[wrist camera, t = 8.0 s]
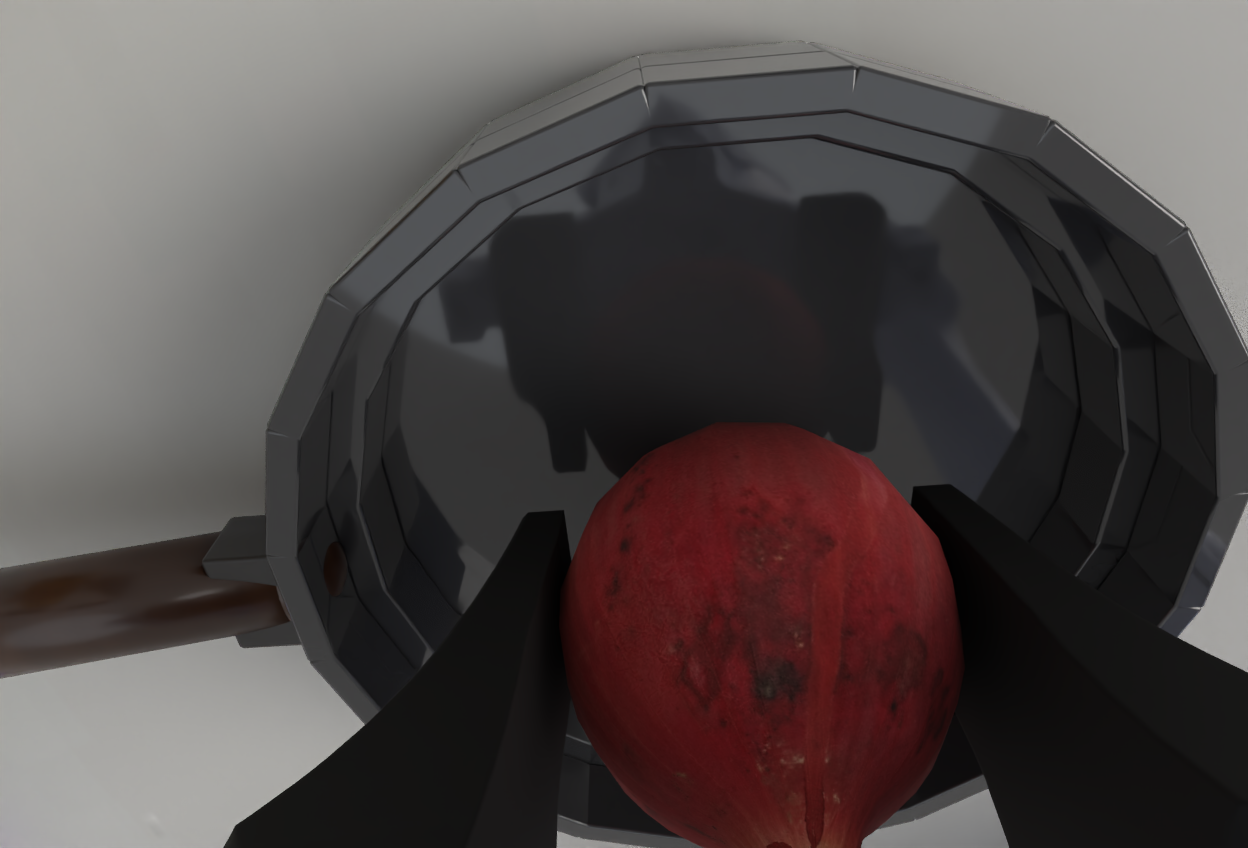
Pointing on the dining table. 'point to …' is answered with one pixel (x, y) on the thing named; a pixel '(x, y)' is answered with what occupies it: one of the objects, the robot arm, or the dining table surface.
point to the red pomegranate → (762, 639)
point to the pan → (752, 351)
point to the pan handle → (148, 599)
